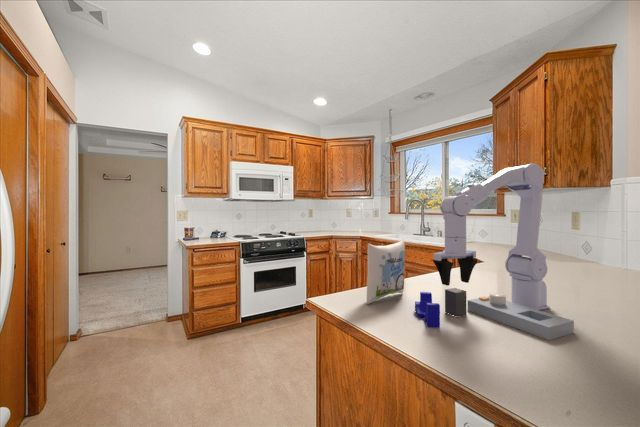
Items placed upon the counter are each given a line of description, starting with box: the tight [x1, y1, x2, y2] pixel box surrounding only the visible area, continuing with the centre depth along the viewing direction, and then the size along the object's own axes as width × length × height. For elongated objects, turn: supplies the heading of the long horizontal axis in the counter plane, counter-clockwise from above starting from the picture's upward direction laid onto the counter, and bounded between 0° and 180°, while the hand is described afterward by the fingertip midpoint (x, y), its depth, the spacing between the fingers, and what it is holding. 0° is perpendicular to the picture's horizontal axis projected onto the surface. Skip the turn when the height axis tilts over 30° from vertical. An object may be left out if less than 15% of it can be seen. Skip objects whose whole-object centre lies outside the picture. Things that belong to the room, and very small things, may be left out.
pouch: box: [366, 239, 406, 305], centre depth 98 cm, size 8×19×20 cm, turn 124°
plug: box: [444, 287, 467, 317], centre depth 83 cm, size 4×4×7 cm
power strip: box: [467, 292, 575, 341], centre depth 78 cm, size 10×22×6 cm, turn 22°
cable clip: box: [414, 291, 441, 329], centre depth 80 cm, size 12×4×6 cm, turn 169°
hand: (455, 283), depth 83 cm, fingers open, 7 cm apart
